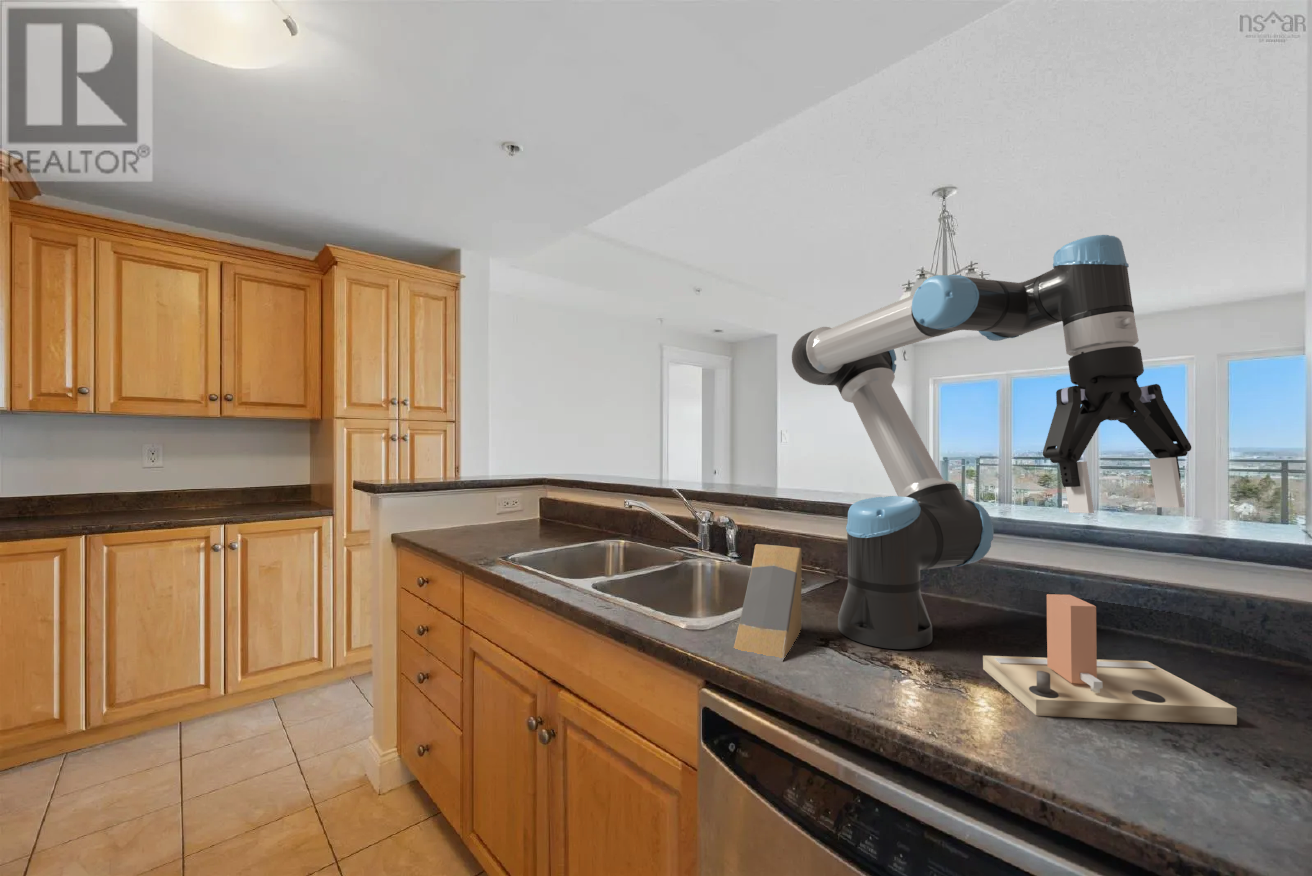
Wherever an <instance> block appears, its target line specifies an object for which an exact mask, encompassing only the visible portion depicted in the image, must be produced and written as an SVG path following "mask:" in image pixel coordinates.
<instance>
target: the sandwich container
mask: <svg viewBox="0 0 1312 876" xmlns="http://www.w3.org/2000/svg"><path fill="white" fill-rule="evenodd" d="M802 554H803V551H802V548H801V547H792V546H786V545H785V546H784V545H775V544H774V545H773V544H761V543H756V544H755V545H754V550H753V556H752V562H751V567H750V573H749V576H748V577H749V578H748V582H747V587H746V592H745V594H744V595H745V596H744V599H743V604H742V608H741V609H742V610H741V614H740V618H739V623H738V627H737V632H736V637H735V641H734V645H733V648H735V649H738V650H741V651H747V652H754V653H757V654H763V655H766V656H775V657H779V658H784V657H785V656H786V654H787V653H788V652H789V650H790V648H791V647H792V645H793V644H794V642H795V641H796V639H798V638H799V636H800V634H799V633H801V631H802V561H803V560H802ZM800 630H801V631H800ZM798 635H799V636H798ZM797 637H798V638H797ZM793 646H794V645H793ZM792 648H793V647H792ZM790 651H791V650H790ZM789 653H790V652H789Z"/></svg>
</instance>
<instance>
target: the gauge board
mask: <svg viewBox="0 0 1312 876" xmlns="http://www.w3.org/2000/svg"><path fill="white" fill-rule="evenodd" d="M982 669H983V671H985V672H986V673H987V674H988V675H989V676H990V677H992V679H994V680H995V681H996V682H997V683H999V684H1000V685H1001V687H1003V688H1004V689H1005V690H1006V691H1007V692H1009V693H1010V694H1011V695H1012V696H1014V698H1015V699H1017V700H1018V701H1019V702H1020V703H1021V704H1022V705H1023V706H1025V707H1026V708H1027V709H1028V710H1029V711H1030V712H1031V713H1033V715H1035V716H1040V717H1055V718H1056V717H1057V718H1058V717H1060V718H1077V719H1078V718H1080V719H1081V718H1084V719H1104V720H1105V719H1106V720H1124V721H1125V720H1126V721H1127V720H1128V721H1148V722H1166V723H1168V722H1169V723H1187V724H1189V723H1190V724H1191V723H1193V724H1206V725H1207V724H1208V725H1209V724H1211V725H1229V726H1230V725H1232V726H1237V725H1238V717H1237V716H1238V714H1237V711H1238V707H1236V706H1234V705H1232V704H1230V703H1228V702H1226V701H1224V700H1222V699H1221V698H1219V697H1217V696H1214V695H1213V694H1211V693H1209V692H1207V691H1205V690H1204V689H1201V688H1200V687H1198V686H1195V685H1194V684H1192V683H1190V682H1188V681H1186V680H1184V679H1182V678H1180V677H1178V676H1177V675H1174V673H1171V672H1169V671H1167V670H1165V669H1163V668H1161V667H1159V666H1158V665H1156V664H1153V663H1152V662H1149V661H1147V660H1127V659H1126V660H1124V659H1123V660H1121V659H1097V679H1099V680H1100V681H1102V685H1103V688H1100V693H1095V692H1092V691H1091V686H1090V685H1088V684H1080V683H1071V682H1069V681H1068V680H1066V679H1065V678H1063V677H1062V676H1061V675H1059V674H1058V673H1056V672H1055V671H1053V670H1052V669H1051V668H1049V667H1048V666H1047V657H1040V656H1039V657H1035V656H1033V657H1032V656H1007V655H1003V656H1002V655H982Z"/></svg>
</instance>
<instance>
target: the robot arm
mask: <svg viewBox="0 0 1312 876" xmlns="http://www.w3.org/2000/svg"><path fill="white" fill-rule="evenodd" d="M1052 258H1053V262H1052V263H1053V264H1052V267H1053V268H1052V269H1051V270H1049V271H1046V272H1044V273H1041V274H1040V275H1038V276H1035V277H1032V278H1030V279H1027V280H1025V281H1021V282H1015V281H1013V282H1012V281H1004V280H994V279H985V278H980V277H979V278H978V277H970V276H964V275H961V274H939V275H933V276H930V277H928V278H927V279H925V280H924V281H923V282H922V283H921V284H920V286H919V287H917V289H916V290H915V292H914V294H913V295H910V296H908V297H905V298H903V299H900V300H898V301H895V302H892V303H890V304H887V305H885V306H883V307H880V308H878V309H876V310H873V311H871V312H868V313H865V314H862V315H861V316H858V317H856V318H853V319H851V320H848V321H845V322H843V323H841V324H838V325H836V326H834V327H830V326H821V327H820V326H819V327H818V328H816V329H813V330H811V331H808V332H807V333H805V334H804V335H802V336H801V337H799V338H798V340H797V341H796V342H795V344H794V346H793V348H792V352H791V363H792V367H793V369H794V371H795V372H796V374H797V375H798V376H799V377H800V378H801V379H802V380H803V381H806V382H807V383H810V384H813V385H816V386H835V387H836V388H837V389H838V390H837V391H839V393H840V396H841V398H842V399H843V401H845V402H848V403H852V405H853V406H854V408H855V410H856V412H857V414H858V417H859V419H860V421H861V423H862V425H863V427H864V429H865V431H866V433H867V435H868V437H869V439H870V441H871V443H872V445H873V448H874V450H875V452H876V454H877V457H878V458H879V461H880V462H881V464H882V467H883V468H884V471H885V472H886V475H887V476H888V479H889V481H890V482H891V485H892V487H893V490H894V491H895V493H896V495H892V496H891V495H890V496H884V497H883V496H878V497H877V496H875V497H869V498H865V499H861V500H858V501H856V502H853V503H852V504H851V505H850V507H849V509H848V511H847V524H846V527H845V529H846V530H845V531H846V534H847V535H846V536H847V538H846V539H847V588H846V591H845V593H844V596H843V600H842V602H841V606H840V609H839V612H838V616H837V629H838V631H839V632H840V633H841V634H842V635H843V636H845V637H846V638H848V639H850V640H852V641H855V642H857V643H860V644H863V645H868V646H871V647H876V648H882V649H888V650H889V649H890V650H892V649H893V650H912V649H913V650H914V649H920V648H924V647H926V646H928V645H930V644H931V643H932V642H933V624H932V622H931V619H930V617H929V616H930V615H929V613H928V610H927V607H926V605H925V602H924V600H923V596H922V593H921V570H931V569H940V568H948V567H953V568H956V567H957V568H958V567H959V568H960V567H963V566H965V565H970V564H974V563H977V562H979V561H980V560H981V559H983V558H984V557H985V556H987V554H988V553H989V551H990V549H991V547H992V541H993V540H994V533H995V531H994V525H993V521H992V518H991V516H990V514H989V513H988V511H987V510H986V509H985V508H984V507H983V506H982V505H981V504H980V503H977V502H974V501H973V500H971V499H965V498H964V497H963V495H962V493H961V491H960V490H959V488H958V486H957V484H956V483H954V482H952V481H949V480H946V479H944V478H943V477H942V475H941V473H940V471H939V469H938V467H937V466H936V464H935V461H933V459H932V456H931V455H930V453H929V451H928V449H927V448H926V446H925V444H924V442H923V440H922V438H921V437H920V435H919V432H918V431H917V429H916V427H915V425H914V423H913V421H912V420H911V418H910V416H909V414H908V413H907V411H906V409H905V407H904V405H903V403H902V401H901V399H900V398H899V396H898V394H897V392H896V391H895V388H894V386H893V383H894V381H895V378H896V377H895V375H896V374H895V373H896V370H897V364H896V363H895V362H896V361H897V355H896V352H895V349H899V348H903V347H906V346H909V345H913V344H916V343H919V342H922V341H925V340H929V339H932V338H935V337H939V336H943V335H948V334H950V333H953V332H957V331H971V332H973V331H976V332H977V331H978V333H979V334H980V335H982V336H984V337H986V339H987V340H989V341H992V342H993V341H995V342H998V341H1002V340H1006V339H1015V338H1017V337H1019V336H1022V335H1025V334H1028V333H1031V332H1033V331H1037V330H1040V329H1041V328H1045V327H1049V326H1051V325H1054V324H1057V323H1061V322H1062V328H1063V337H1064V343H1065V345H1064V346H1065V351H1066V352H1065V353H1066V355H1068V356H1071V357H1070V358H1069V360H1068V361H1067V362H1068V363H1067V364H1068V365H1067V366H1068V369H1069V378H1070V382H1071V384H1073V385H1072V386H1067V387H1063V388H1060V389H1057V390H1056V392H1055V397H1056V399H1055V400H1056V406H1055V410H1054V413H1053V416H1052V420H1051V423H1050V427H1049V430H1048V432H1047V433H1048V434H1047V437H1046V440H1045V443H1044V447H1043V449H1042V456H1043V458H1045V459H1050V462H1051V463H1053V464H1058V465H1059V471H1060V478H1061V484H1062V487H1063V488H1065V492H1066V499H1067V507H1068V513H1070V514H1072V513H1073V514H1094V512H1095V510H1094V505H1093V497H1092V490H1091V483H1090V476H1089V469H1088V461H1080V459H1081V458H1082V456H1083V454H1084V452H1085V451H1086V450H1087V447H1088V445H1089V443H1090V442H1091V440H1092V438H1093V437H1094V435H1095V433H1096V431H1097V430H1098V428H1099V426H1100V425H1101V423H1103V422H1105V421H1111V422H1112V421H1118V422H1119V423H1120V424H1124V425H1126V427H1128V428H1129V430H1130V431H1131V432H1132V433H1133V434H1134V435H1135V437H1137V438H1138V440H1139V441H1141V443H1142V444H1143V445H1144V446H1145V447H1146V449H1147V450H1149V451H1150V453H1151V454H1152V455H1153V456H1154V457H1155V458H1149V466H1150V467H1149V468H1150V473H1151V479H1152V487H1153V492H1154V493H1153V494H1154V499H1155V504H1156V508H1184V507H1185V505H1184V500H1183V493H1182V488H1181V487H1182V486H1181V478H1182V476H1181V471H1180V463H1179V458H1180V457H1186V456H1187V455H1188V452H1191V450H1192V445H1191V442H1190V441H1189V439H1188V438H1187V436H1186V434H1185V433H1184V431H1183V429H1182V428H1181V426H1180V424H1179V423H1178V421H1177V420H1176V418H1175V415H1174V414H1173V413H1172V411H1171V409H1170V408H1169V406H1168V405H1167V404H1168V403H1166V401H1165V400H1164V396H1163V391H1162V387H1161V386H1160V384H1158V383H1155V384H1154V383H1153V384H1148V385H1144V386H1140V385H1139V382H1138V380H1137V379H1138V378H1139V377H1140V376H1141V375H1143V374H1144V371H1145V369H1144V363H1143V357H1142V351H1141V348H1139V347H1138V346H1135V345H1136V344H1137V343H1139V335H1138V331H1137V330H1138V328H1137V325H1136V318H1135V311H1134V306H1133V300H1132V292H1131V285H1130V284H1131V283H1130V277H1129V271H1128V270H1129V269H1128V268H1129V264H1130V263H1128V262H1127V259H1126V258H1127V257H1126V256H1125V251H1124V246H1123V243H1122V240H1121V239H1120V238H1119V237H1117V236H1115V235H1109V234H1097V235H1091V236H1087V237H1082V238H1079V239H1077V240H1073V241H1071V242H1068V243H1066V244H1064V245H1063V246H1062V247H1060V248H1059V249H1057V250H1056V251H1055V252H1054V254H1053V257H1052ZM1175 442H1176V443H1175Z"/></svg>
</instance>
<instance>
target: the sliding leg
mask: <svg viewBox="0 0 1312 876" xmlns="http://www.w3.org/2000/svg"><path fill="white" fill-rule="evenodd" d="M1046 642H1047V643H1046V644H1047V645H1046V646H1047V647H1046V648H1047V649H1046V651H1047V652H1046V654H1047V657H1046V658H1047V666H1048V667H1049V668H1051V669H1052V670H1053V671H1055V672H1056V673H1058V674H1059V675H1061V676H1062V677H1063V678H1065V679H1066V680H1068V681H1069V682H1071V683H1080V684H1088V685H1090V686H1091V691H1092V692H1095V693H1100V688H1103V685H1102V681H1100V680H1099V679H1097V658H1098V657H1097V651H1098V650H1097V606H1096V605H1094V604H1092V603H1090V602H1087V601H1085V600H1082V599H1081V598H1079V597H1077V596H1074V595H1071V594H1058V593H1057V594H1056V593H1055V594H1051V593H1050V594H1049V593H1048V594H1046Z"/></svg>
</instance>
